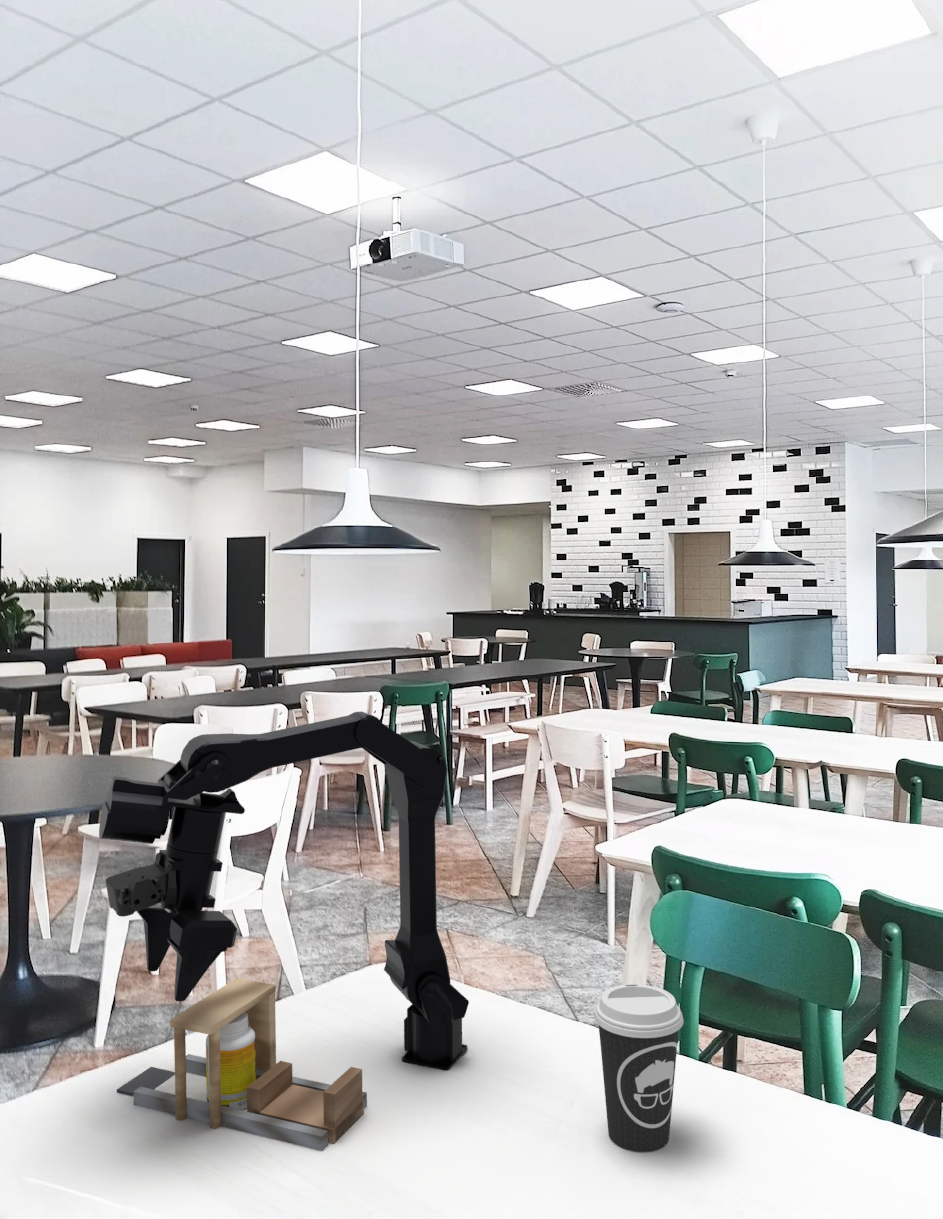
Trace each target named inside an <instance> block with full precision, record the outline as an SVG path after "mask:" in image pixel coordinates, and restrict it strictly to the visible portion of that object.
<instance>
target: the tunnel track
mask: <svg viewBox="0 0 943 1219" xmlns="http://www.w3.org/2000/svg"><path fill="white" fill-rule="evenodd" d="M244 1012H246V1013H247V1014H248V1023H249V1024H248V1026H249V1027H251V1028H252V1029H253V1030H254V1032H255V1053H256V1080H257V1079H258V1078H259V1077H261V1076H262V1075H263V1074H264V1073H266V1072H267V1071H268V1070H269V1069H271V1068H272V1067H273V1066H275V1065H276V1064H277V1041H276V1040H277V1036H276V1035H277V1034H276V1033H277V1032H276V1030H277V1029H276V1027H277V1026H276V1024H277V1023H276V984H274V983H273V984H272V983H266V982H261V981H256V980H251V979H244V978H238V977H237V978H235V979H233V980H232V981H230V982H229V983H227V984H225V985H224V986H222V987H220V988H219V989H217V990H215V991H213V992H212V993H211V994H209V995H208V996H205V997H203V998H202V999H201V1000H199V1001H197V1002H196V1003H195V1004H193V1005H191V1006H189V1007H188V1008H186V1009H185V1010H183V1011H181V1012H180V1013H178V1014H176V1015H175V1016H173V1017H171V1018H170V1019H169V1027H170V1028H173V1040H174V1041H173V1042H174V1043H173V1044H174V1046H173V1047H174V1072H175V1075H174V1089H175V1090H174V1093H175V1094H174V1093H170V1092H165V1091H161V1090H157V1089H154V1090H153V1089H149V1088H145V1087H139V1088H138V1089H136V1090H135V1091H133V1094H134V1096H133V1106H134V1105H135V1106H137V1107H142V1108H145V1109H146V1108H147V1109H149V1110H154V1111H158V1112H162V1113H166V1114H170V1115H174V1116H175V1120H176V1121H184V1120H186V1119H191V1120H195V1121H198V1122H203V1123H207V1124H209V1126H210V1129H212V1130H217V1129H220V1128H227V1129H231V1130H236V1131H240V1132H243V1133H248V1134H251V1135H255V1136H259V1137H264V1138H268V1139H270V1140H271V1139H272V1140H275V1141H280V1142H282V1143H283V1142H284V1143H288V1144H293V1145H296V1146H300V1147H303V1148H307V1149H312V1150H316V1151H320V1152H323V1151H324V1150H325V1149H326V1147H328V1145H329V1142H328V1131H326V1130H322V1129H318V1128H314V1127H309V1126H305V1125H301V1124H297V1123H293V1122H288V1121H284V1120H280V1119H276V1118H271V1117H267V1116H263V1115H259V1114H255V1113H250V1112H247V1111H246V1110H238V1109H233V1108H229V1107H225V1106H221V1067H220V1029H221V1028H222V1027H223V1026H225V1025H226V1024H228V1023H229V1022H231V1021H232V1020H234V1019H235V1018H237V1017H238V1016H240V1015H241V1014H243V1013H244ZM186 1031H190V1032H195V1033H200V1034H205V1035H208V1034H209V1082H210V1103H208V1102H207V1101H204V1100H199V1099H195V1098H191V1097H188V1096H187V1073H192V1074H194V1075H200V1076H205V1077H206V1056H204V1057H203V1056H200V1055H195V1054H192V1053H191V1054H190V1053H188V1054H186V1053H187V1052H186V1049H187V1048H186V1047H187V1046H186ZM292 1084H293V1085H297V1086H302V1087H306V1088H311V1089H315V1090H320V1091H325V1090H326V1089H327V1088H328V1087H329V1086H330V1085H331V1084H329V1083H324V1082H319V1081H315V1080H311V1079H305V1078H302V1077H296V1076H292ZM362 1098H363V1100H364V1109H366V1107H367V1106H368V1092H366V1091H362Z"/></svg>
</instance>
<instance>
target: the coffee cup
mask: <svg viewBox="0 0 943 1219" xmlns="http://www.w3.org/2000/svg"><path fill="white" fill-rule="evenodd" d="M593 1019H594V1022H595V1023H596V1024H597V1025H598V1033H599V1040H600V1042H599V1044H600V1052H601V1054H600V1055H601V1065H602V1076H603V1086H604V1095H605V1096H604V1097H605V1098H604V1099H605V1108H606V1120H607V1130H608V1131H607V1133H608V1134H607V1135H608V1137H609V1139H610V1141H611V1142H612V1143H614V1144H615V1145H616V1146H618V1147H620V1148H622V1149H623V1150H624V1149H625V1150H627V1151H631V1152H636V1153H648V1152H650V1153H651V1152H655V1151H658V1150H661V1149H662V1148H664V1147H666V1145H667V1144H668V1143H669V1141H670V1133H671V1121H672V1120H671V1119H672V1109H673V1097H674V1096H673V1095H674V1085H675V1084H674V1083H675V1076H676V1075H675V1073H676V1063H677V1062H676V1061H677V1051H678V1050H677V1049H678V1040H679V1031H680V1029H682V1027H683V1026H684V1023H685V1022H684V1021H685V1020H684V1016H683V1013H682V1010H681V1008H680V1006H678V1004H677V1000H676V998H675V997H674V995H673V994H672V993H670V992H669V991H667V990H665V989H663V988H660V987H657V986H653V985H648V984H640V983H639V984H638V983H630V984H620V985H615V986H612V987H610V988H609V987H608V988H607V989H606V990H605V991H603V992H602V994H601V997H600V999H599V1001H598V1002H597V1004H596V1007H595V1008H594V1011H593Z"/></svg>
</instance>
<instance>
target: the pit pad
mask: <svg viewBox="0 0 943 1219" xmlns="http://www.w3.org/2000/svg"><path fill="white" fill-rule="evenodd" d="M172 1077H175V1071H172V1070H168V1069H162V1068H159V1067H154V1066H150V1067H148V1068H147V1069H145V1070H144V1071H143V1072H141V1073H139V1074H138V1075H136V1076H134V1077H133V1078H132V1079H130V1080H129V1081H128V1082H126V1083H124V1084H122V1085H121V1086H119V1087H118V1088H117V1089H116V1092H117V1093H120V1094H124V1095H127V1096H131V1097H134V1094H133V1091H135V1090H136V1089H138V1088H139V1087H145V1088H149V1089H153V1090H156V1088H158V1087H159V1086H161V1085H162V1084H164V1083H165V1082H167V1081H168V1080H170V1079H171V1078H172Z"/></svg>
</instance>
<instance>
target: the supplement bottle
mask: <svg viewBox="0 0 943 1219" xmlns="http://www.w3.org/2000/svg"><path fill="white" fill-rule="evenodd" d="M248 1024H249V1023H248V1014H247V1013H246V1012H244V1013H243V1014H241V1015H240V1016H238V1017H237V1018H235V1019H234V1020H232V1021H231V1022H229V1023H228V1024H226V1025H225V1026H223V1027H222V1028H221V1029H220V1067H221V1106H225V1107H229V1108H233V1109H238V1110H242V1111H245V1110H247V1087H248V1086H249V1085H251V1084H252V1083H253V1082H254V1081H256V1053H255V1032H254V1030H253V1029H252V1028H251V1027H249V1026H248ZM205 1058H206V1076H205V1077H206V1102H208V1103H210V1082H209V1034H207V1036H206V1038H205Z"/></svg>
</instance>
